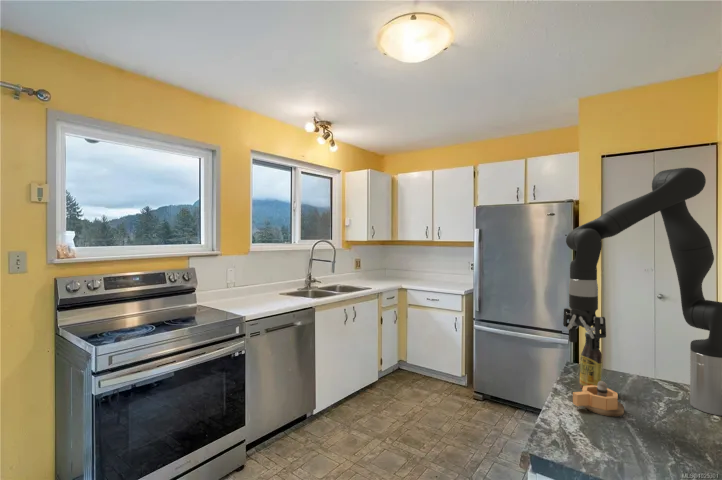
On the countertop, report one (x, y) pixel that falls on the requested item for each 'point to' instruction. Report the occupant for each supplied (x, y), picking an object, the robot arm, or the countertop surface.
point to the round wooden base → (603, 392)
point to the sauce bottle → (590, 365)
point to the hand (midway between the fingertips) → (583, 346)
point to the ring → (596, 398)
